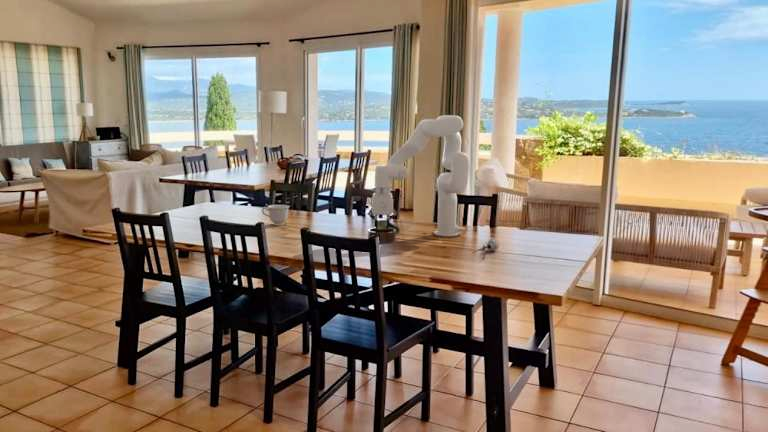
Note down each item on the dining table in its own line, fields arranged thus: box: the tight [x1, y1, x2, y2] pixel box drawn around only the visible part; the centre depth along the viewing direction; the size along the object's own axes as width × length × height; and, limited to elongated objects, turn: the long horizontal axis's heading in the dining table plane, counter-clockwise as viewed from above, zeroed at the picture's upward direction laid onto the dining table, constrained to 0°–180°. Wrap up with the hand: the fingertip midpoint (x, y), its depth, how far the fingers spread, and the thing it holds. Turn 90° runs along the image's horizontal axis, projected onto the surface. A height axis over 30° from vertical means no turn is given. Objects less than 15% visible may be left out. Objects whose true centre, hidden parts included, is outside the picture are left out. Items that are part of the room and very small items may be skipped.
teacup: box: [261, 204, 290, 226], centre depth 314 cm, size 12×15×10 cm
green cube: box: [377, 218, 387, 230], centre depth 278 cm, size 4×4×4 cm
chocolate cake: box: [379, 217, 401, 234], centre depth 300 cm, size 10×7×12 cm
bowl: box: [367, 227, 397, 244], centre depth 279 cm, size 13×13×5 cm
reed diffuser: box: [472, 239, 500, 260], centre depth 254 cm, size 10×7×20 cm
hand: (381, 227), depth 279 cm, fingers closed on green cube, 4 cm apart
